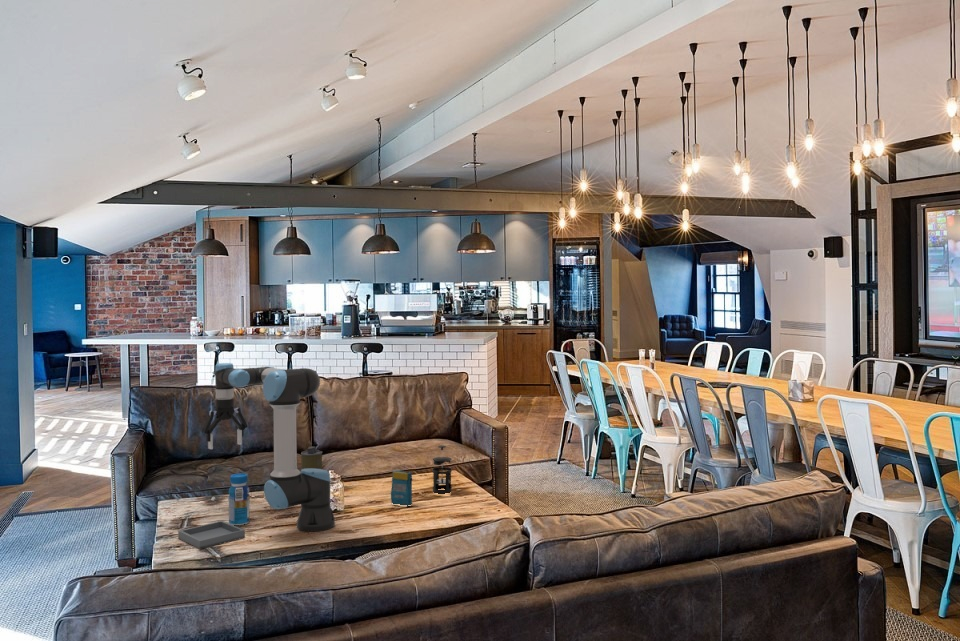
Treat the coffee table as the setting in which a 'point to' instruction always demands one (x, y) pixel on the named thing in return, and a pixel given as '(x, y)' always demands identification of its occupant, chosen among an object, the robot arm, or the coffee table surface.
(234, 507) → the beverage bottle
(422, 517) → the coffee table surface
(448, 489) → the french press
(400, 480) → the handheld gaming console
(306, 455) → the canister
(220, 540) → the tray
